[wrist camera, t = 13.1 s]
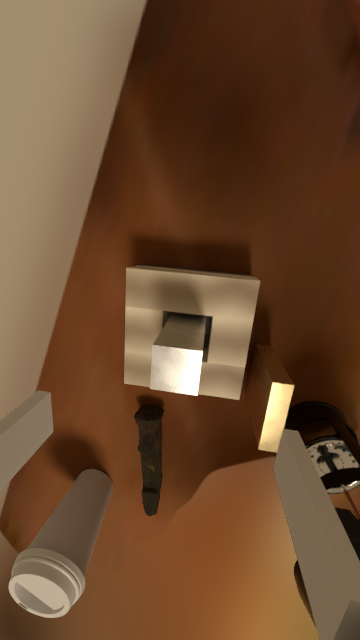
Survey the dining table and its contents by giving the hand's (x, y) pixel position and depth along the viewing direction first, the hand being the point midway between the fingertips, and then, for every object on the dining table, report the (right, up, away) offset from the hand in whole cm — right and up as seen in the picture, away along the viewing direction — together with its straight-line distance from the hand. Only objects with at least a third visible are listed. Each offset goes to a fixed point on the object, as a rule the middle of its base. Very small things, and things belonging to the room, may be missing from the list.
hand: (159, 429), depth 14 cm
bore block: (+3, +6, +19) cm, 20 cm away
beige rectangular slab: (+12, -1, +20) cm, 23 cm away
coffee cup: (-14, -23, +30) cm, 40 cm away
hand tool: (-3, -16, +27) cm, 31 cm away
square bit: (+2, +5, +17) cm, 18 cm away
